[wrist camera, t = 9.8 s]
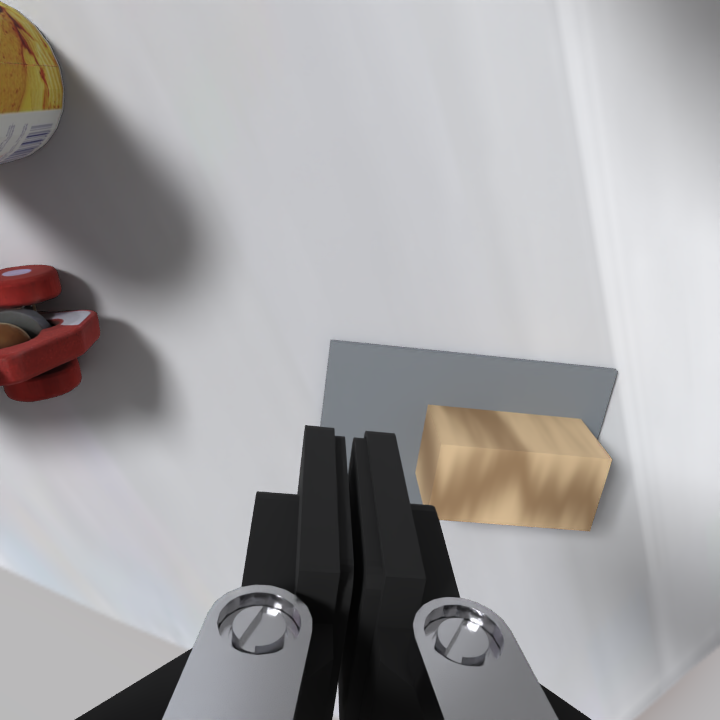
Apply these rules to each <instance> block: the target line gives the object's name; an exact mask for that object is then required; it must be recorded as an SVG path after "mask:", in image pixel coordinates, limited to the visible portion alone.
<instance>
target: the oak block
mask: <svg viewBox="0 0 720 720" xmlns="http://www.w3.org/2000/svg"><path fill="white" fill-rule="evenodd" d="M611 462H612V458H611V457H610V456H609V454H608V453H607V452H606V450H605V449H604V448H603V447H602V445H601V444H600V443H599V442H598V440H597V439H596V438H595V436H594V435H593V434H592V433H591V431H590V430H589V429H588V427H587V426H586V425H585V424H584V422H583V421H582V420H581V419H578V418H567V417H556V416H545V415H535V414H524V413H513V412H503V411H492V410H481V409H471V408H460V407H449V406H439V405H428V407H427V412H426V418H425V423H424V428H423V434H422V439H421V445H420V450H419V455H418V461H417V466H416V471H415V474H416V478H417V482H418V486H419V490H420V494H421V499H422V503H423V504H424V505H433V506H434V507H435V509H436V511H437V514H438V518H439V520H449V521H462V522H475V523H488V524H501V525H514V526H527V527H541V528H554V529H567V530H580V531H590V529H591V526H592V523H593V520H594V516H595V513H596V510H597V507H598V504H599V500H600V497H601V494H602V491H603V488H604V484H605V481H606V478H607V475H608V472H609V468H610V465H611Z"/></svg>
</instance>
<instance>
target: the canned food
mask: <svg viewBox="0 0 720 720" xmlns="http://www.w3.org/2000/svg"><path fill="white" fill-rule="evenodd" d="M63 106H64V84H63V79H62V74H61V69H60V66H59V64H58V61H57V59H56V57H55V55H54V52H53V50H52V48H51V46H50V44H49V43H48V42H47V40H46V39H45V38H44V36H43V35H42V34H41V32H40V31H39V30H38V28H37V27H36V26H35V25H34V24H33V23H32V22H30V21H29V20H28V19H27V18H26V17H25V16H24V15H22V14H21V13H20V12H19V11H18V10H16V9H14V8H12V7H10V6H8V5H7V4H5V3H3V2H1V1H0V164H3V163H7V162H11V161H14V160H17V159H20V158H23V157H26V156H29V155H31V154H33V153H34V152H35V151H37V150H38V149H40V148H41V147H42V146H44V145H45V144H46V143H47V142H48V140H49V139H50V137H51V136H52V135H53V133H54V132H55V131H56V129H57V127H58V124H59V121H60V118H61V115H62V112H63Z"/></svg>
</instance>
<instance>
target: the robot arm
mask: <svg viewBox="0 0 720 720" xmlns="http://www.w3.org/2000/svg"><path fill="white" fill-rule="evenodd" d="M337 685H338V689H339V720H591V719H590V718H588V717H587V716H586V715H584V714H583V713H581V712H580V711H578V710H577V709H575V708H574V707H573V706H571V705H570V704H568V703H567V702H565V701H564V700H563V699H561V698H560V697H558V696H557V695H555V694H554V693H552V692H551V691H550V690H548V689H547V688H545V687H544V686H542V685H541V684H540V683H539V682H538V680H537V678H536V676H535V675H534V673H533V671H532V669H531V667H530V665H529V663H528V661H527V660H526V658H525V656H524V654H523V652H522V650H521V648H520V646H519V645H518V643H517V641H516V639H515V637H514V635H513V633H512V631H511V630H510V629H509V627H508V626H507V624H506V623H505V622H504V620H503V619H502V618H501V617H499V616H498V615H497V614H496V613H494V612H493V611H492V610H491V609H489V608H487V607H485V606H483V605H481V604H479V603H477V602H474V601H471V600H467V599H464V598H460V596H459V592H458V588H457V585H456V581H455V577H454V573H453V570H452V566H451V562H450V559H449V555H448V551H447V548H446V544H445V540H444V537H443V533H442V529H441V525H440V522H439V518H438V514H437V511H436V509H435V507H434V506H433V505H424V504H411V503H410V500H409V496H408V491H407V486H406V482H405V477H404V472H403V467H402V463H401V458H400V453H399V449H398V444H397V439H396V435H395V433H386V432H375V431H365V434H364V438H356V437H354V438H353V442H352V449H351V456H350V463H349V470H347V455H346V441H345V436H335V429H334V428H330V427H319V426H307V425H305V431H304V439H303V448H302V457H301V467H300V476H299V485H298V494H297V495H296V494H283V493H270V492H258V491H257V493H256V498H255V505H254V511H253V517H252V523H251V530H250V536H249V542H248V549H247V555H246V561H245V568H244V574H243V580H242V586H241V587H240V588H237V589H235V590H232V591H230V592H228V593H226V594H225V595H223V596H222V597H221V598H219V599H218V600H217V601H215V603H214V604H213V606H212V607H211V609H210V610H209V612H208V613H207V616H206V618H205V621H204V623H203V625H202V628H201V630H200V632H199V635H198V637H197V639H196V642H195V644H194V646H193V648H192V649H190V650H188V651H187V652H185V653H183V654H182V655H180V656H178V657H177V658H175V659H174V660H172V661H170V662H169V663H167V664H165V665H164V666H162V667H161V668H159V669H157V670H156V671H154V672H152V673H151V674H149V675H147V676H146V677H144V678H142V679H141V680H139V681H137V682H136V683H134V684H133V685H131V686H129V687H128V688H126V689H124V690H123V691H121V692H119V693H118V694H116V695H115V696H113V697H111V698H110V699H108V700H107V701H105V702H103V703H101V704H100V705H98V706H97V707H95V708H93V709H92V710H90V711H88V712H87V713H85V714H83V715H82V716H80V717H78V718H77V719H75V720H332V717H333V711H334V704H335V698H336V692H337Z"/></svg>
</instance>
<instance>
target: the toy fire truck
mask: <svg viewBox="0 0 720 720" xmlns="http://www.w3.org/2000/svg"><path fill="white" fill-rule="evenodd" d="M60 293H61V284H60V280H59V276H58V272H57V271H56V269H55V268H54V267H52V266H47V265H26V266H18V267H11V268H5V269H1V270H0V386H4V391H5V393H6V394H7V396H8V397H9V398H11V399H13V400H16V401H23V402H34V401H40V400H44V399H49V398H53V397H57V396H60V395H63V394H65V393H68V392H69V391H71V390H73V389H74V388H75V387H77V386H78V385H79V384H80V382H81V379H82V375H81V370H80V366H79V362H78V360H77V357H79V356H81V355H83V354H84V353H85V352H86V351H87V350H88V349H89V348H90V347H91V346H92V345H93V343H95V341H96V340H98V338H99V336H100V327H99V321H98V315H97V313H96V312H95V311H92V310H74V311H62V312H43V311H36V306H35V304H38V303H41V302H44V301H47V300H49V299H53V298H55V297H57V296H58V295H59V294H60Z"/></svg>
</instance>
